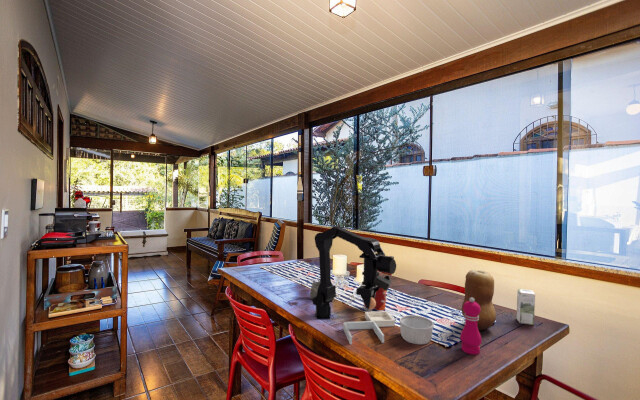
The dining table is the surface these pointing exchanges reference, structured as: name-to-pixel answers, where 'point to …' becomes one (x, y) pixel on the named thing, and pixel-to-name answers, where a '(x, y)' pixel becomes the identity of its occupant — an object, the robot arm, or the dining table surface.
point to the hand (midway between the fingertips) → (369, 306)
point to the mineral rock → (315, 290)
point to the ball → (372, 303)
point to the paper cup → (380, 299)
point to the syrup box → (525, 306)
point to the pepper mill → (471, 328)
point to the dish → (380, 318)
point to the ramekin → (416, 329)
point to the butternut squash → (481, 296)
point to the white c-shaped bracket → (362, 325)
